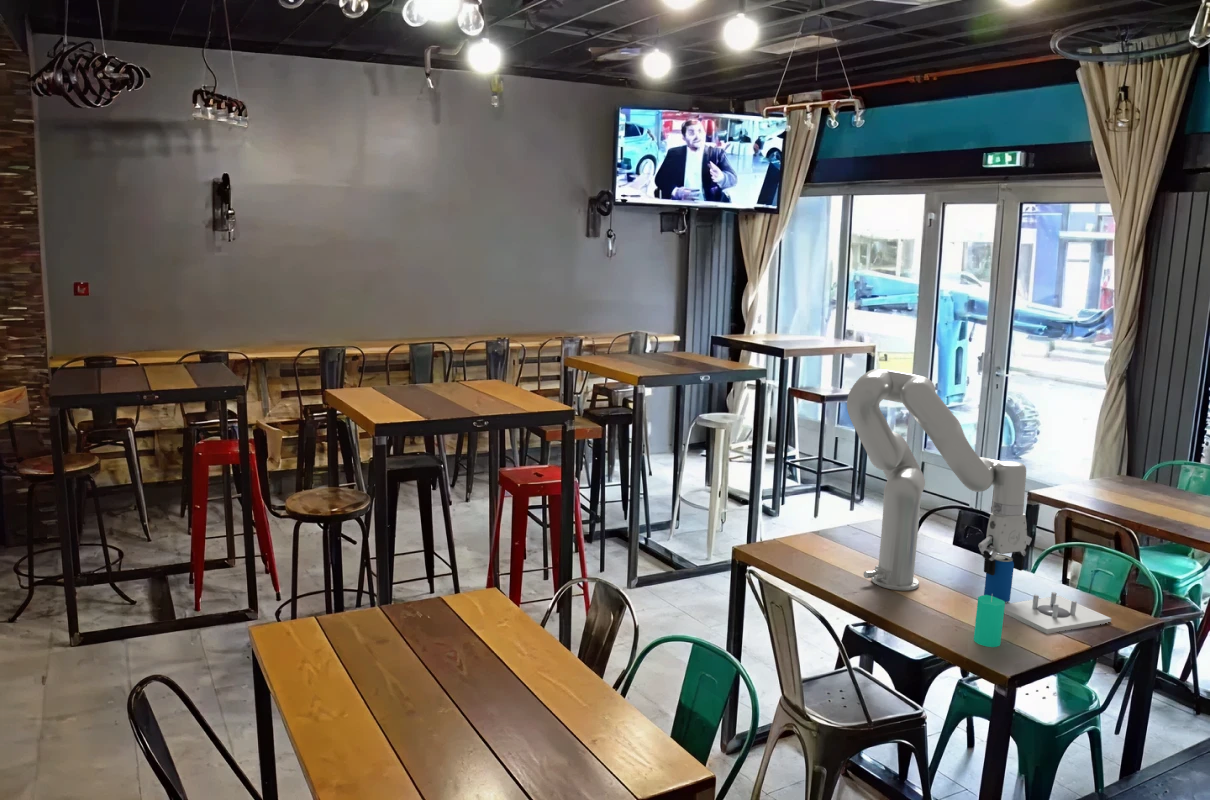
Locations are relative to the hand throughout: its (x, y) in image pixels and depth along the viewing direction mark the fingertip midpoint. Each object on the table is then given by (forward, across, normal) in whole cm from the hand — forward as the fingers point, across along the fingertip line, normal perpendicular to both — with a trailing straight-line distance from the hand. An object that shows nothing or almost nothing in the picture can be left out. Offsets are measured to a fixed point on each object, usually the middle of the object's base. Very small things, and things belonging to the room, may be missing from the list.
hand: (1003, 571), depth 249 cm
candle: (+8, -24, -19) cm, 32 cm away
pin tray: (+9, +5, -12) cm, 16 cm away
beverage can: (+8, -1, +1) cm, 8 cm away
